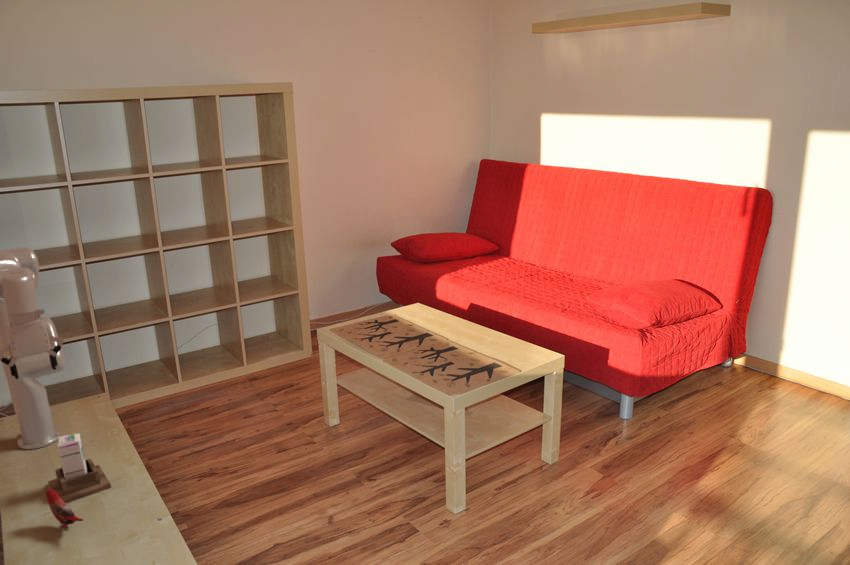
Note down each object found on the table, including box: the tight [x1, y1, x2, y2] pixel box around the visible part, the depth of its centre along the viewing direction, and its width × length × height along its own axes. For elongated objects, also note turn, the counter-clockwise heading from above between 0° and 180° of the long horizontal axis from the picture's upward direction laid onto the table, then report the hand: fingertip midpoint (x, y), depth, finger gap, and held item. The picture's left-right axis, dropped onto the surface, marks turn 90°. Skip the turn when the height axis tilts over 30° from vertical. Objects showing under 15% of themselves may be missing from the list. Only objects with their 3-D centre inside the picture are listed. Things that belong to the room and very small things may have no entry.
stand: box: [47, 458, 112, 504], centre depth 199 cm, size 14×14×5 cm
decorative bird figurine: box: [45, 488, 84, 530], centre depth 178 cm, size 3×18×10 cm, turn 55°
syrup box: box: [56, 432, 88, 481], centre depth 197 cm, size 6×6×14 cm
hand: (35, 372), depth 197 cm, fingers open, 9 cm apart
